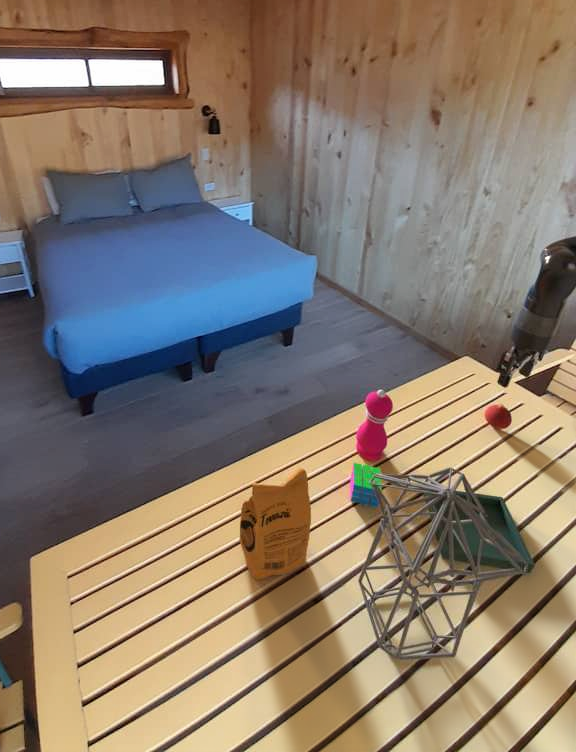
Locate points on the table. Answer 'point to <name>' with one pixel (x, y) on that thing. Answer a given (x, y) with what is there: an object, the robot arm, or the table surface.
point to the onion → (498, 416)
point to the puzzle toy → (364, 484)
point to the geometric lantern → (422, 551)
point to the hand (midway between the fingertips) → (513, 380)
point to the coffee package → (276, 526)
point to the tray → (498, 521)
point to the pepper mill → (374, 426)
